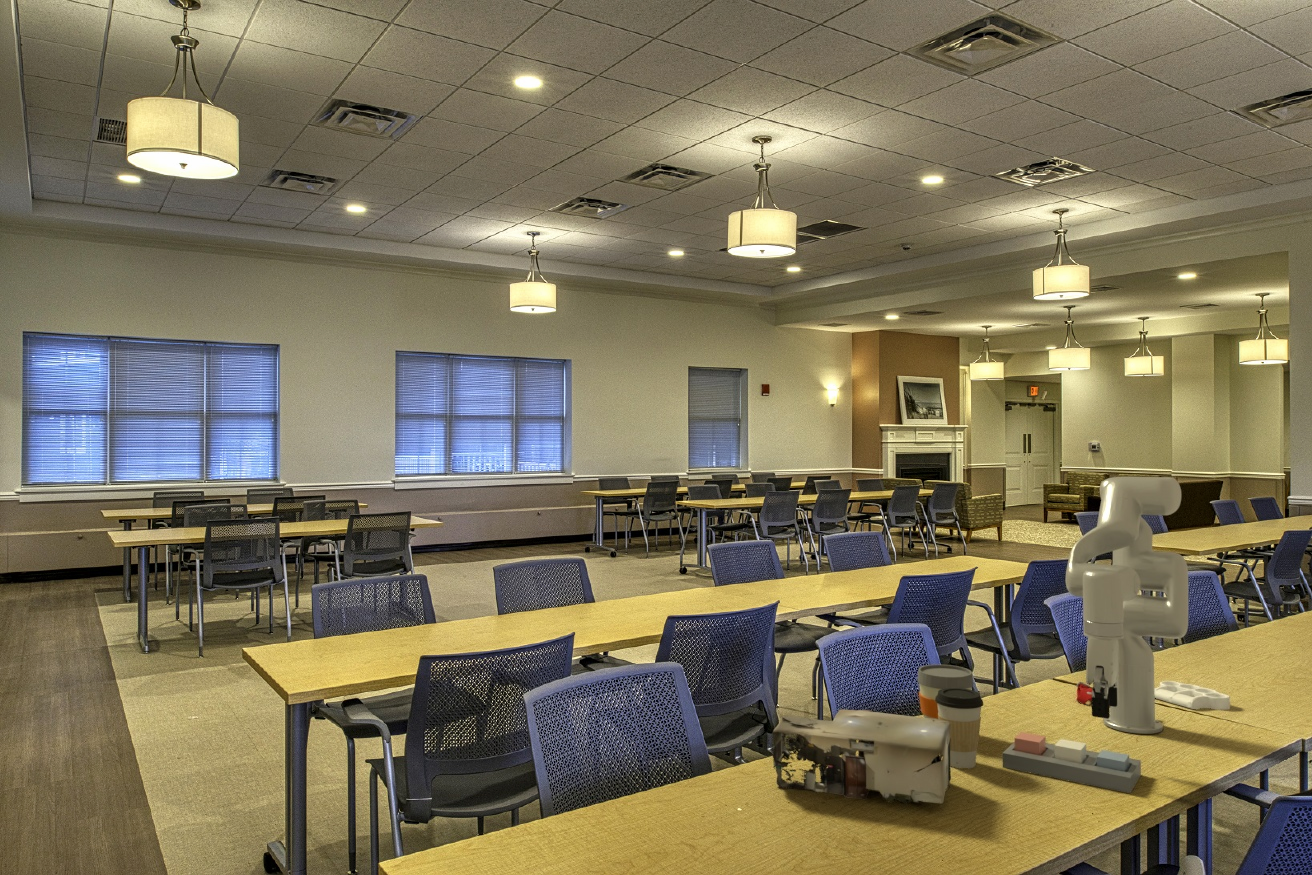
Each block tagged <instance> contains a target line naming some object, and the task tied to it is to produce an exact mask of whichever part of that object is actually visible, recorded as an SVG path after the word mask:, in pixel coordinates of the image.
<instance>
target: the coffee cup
mask: <svg viewBox="0 0 1312 875" xmlns="http://www.w3.org/2000/svg"><path fill="white" fill-rule="evenodd" d="M935 702H936V703H937V705H938V720H944V721H948V722H950V724H951V741H950V767H951V766H952V767H951V768H954V767H955V768H954V769H960V768H968V769H973V768H975V767H976V762H977V753H978V752H977V751H978V748H979V741H980V740H979V739H980V729H981V720H982V719H981V718H982V716H981V714H982V713H981V711H982V707H983V706H984V701H983V699H982V697H981V694H980V692H978V691H976V690H973V689H971V690H969V689H964V688H944V689H940V690H939V691H938V694H937V696H936V698H935Z"/></svg>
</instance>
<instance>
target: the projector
mask: <svg viewBox="0 0 1312 875" xmlns="http://www.w3.org/2000/svg"><path fill="white" fill-rule="evenodd" d="M781 718H782V719H781V720H780V721H779V723H778V724H777V725H776V727H775V728H774V729H773V731H772V743H771V745H772V759H773V765H772V766H773V767H772V768H773V769H774V770H775V772H776V774H777V776H776V784H777V788H776V789H778V788H779V789H783V790H784V789H786V790H787V789H794V790H808V791H814V792H815V793H819V792H821V793H828V794H834V795H840V796H841V795H843V797H844V798H847V799H848V798H849V799H850V798H851V799H858V800H859V799H860V800H864V801H867V800H868V794H869V793H870V791H872V792H877V793H880V794H881V797H882V802H884V803H892V804H893V803H895V802H894V801H898V802H900V804H907V803H911V802H913V803H915V804H918V805H920V806H921V805H922V804H921V802H923V803H933V804H944V800H945V795H946V791H947V790H949V789H950V783H951V780H952V776H951V772H952V771H951V766H950V741H951V724H950V722H948V721H944V720H937V719H930V718H924V717H921V716H911V715H905V714H904V715H903V714H895V713H894V714H893V713H885V712H878V711H877V712H876V711H873V710H871V709H860V710H855V709H843V708H842V709H839V710H838V712H837V713H836V714H835V716H834V718H833V720H825V719H824V720H822V719H815V718H807V717H804V716H798V715H793V714H784V715H782V717H781ZM794 735H795V737H794V738H792V737H787V736H794ZM785 739H786V740H785ZM785 744H786V745H787V746H788V747H789V748H788V747H785ZM857 751H858V753H857ZM857 754H858V755H857ZM793 755H795V757H794V756H793ZM795 758H796V761H802V762H806V760H807V761H808V762H810V763H811V768H808V769H809V770H808V769H804V768H803V769H802V768H797V770H800V771H801V772H802V773H801V774H803V775H801V777H802V778H801V779H800V780H801V781H803V782H800V781H798V780H792V778H793V777H795V775H794V773H796V771H797V770H796V769H793V768H792V767H793V765H792V762H790V761H789V760H790V759H791V760H792V761H794V760H795ZM783 760H784V761H783ZM788 761H789V762H788ZM788 765H790V767H791V768H792V769H789V770H788V769H787V768H788V767H789V766H788ZM816 769H819V775H820V777H819V779H820V782H818V781H817V773H816V771H817V770H816ZM783 772H784V773H785V774H784V776H786V779H784V778H783V777H782V776H783ZM790 772H792V774H791V773H790ZM793 772H794V773H793Z"/></svg>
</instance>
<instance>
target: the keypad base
mask: <svg viewBox="0 0 1312 875" xmlns="http://www.w3.org/2000/svg"><path fill="white" fill-rule="evenodd" d="M1055 744H1056V743H1055ZM1055 744H1054V743H1049V742H1046V751H1045V752H1044V753H1043V755H1042V756H1040V755H1035V754H1030V753H1025V752H1019V751H1015V741H1014V742H1013V743H1012V744H1010V746H1008V747H1007V748H1006V749H1005V750H1004V751H1003V752H1002V768H1005V769H1009V768H1010V769H1009V770H1014V769H1015V771H1019V772H1024V773H1028V772H1031V773H1030V774H1033V773H1035V774H1034V775H1038V774H1039V776H1043V777H1048V776H1051V777H1050V778H1053V777H1054V779H1059V780H1063V781H1067V780H1069V782H1072V781H1073V782H1072V783H1078V784H1082V785H1083V784H1084V785H1087V784H1088V786H1093V787H1098V788H1102V789H1108V790H1112V791H1117V792H1122V793H1126V794H1131V793H1132V791H1133V789H1135V786H1136V784H1137V783H1138V781H1139V779H1140V778H1141V776H1142V765H1141V764H1142V762H1141V761H1142V760H1140V759H1138V758H1137V759H1136V758H1131V757H1129V770H1128V772H1123V771H1118V770H1113V769H1108V768H1103V767H1097V756H1098V755H1099V753H1100V752H1098V751H1092V750H1087V749H1086V761H1085V762H1084V763H1083V764H1082V763H1077V762H1071V761H1066V760H1061V759H1056V758H1055ZM1127 792H1128V793H1127Z"/></svg>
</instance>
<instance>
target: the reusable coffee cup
mask: <svg viewBox="0 0 1312 875" xmlns="http://www.w3.org/2000/svg"><path fill="white" fill-rule="evenodd" d="M917 683H918V685H919V692H918V698H919V705H920V706H919V707H920V712H921V713H922V714H923V718H930V719H937V720H938V705H937V703H936V702H935V698H936V696H937V694H938V691H939V690H940V689H944V688H964V689H969V690H973V689H972V687H973V686H974V679H973V672H972V670H970V669H968V668H965V667H962V666H958V665H951V664H928V665H922V666H919V668H918V672H917Z"/></svg>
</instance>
